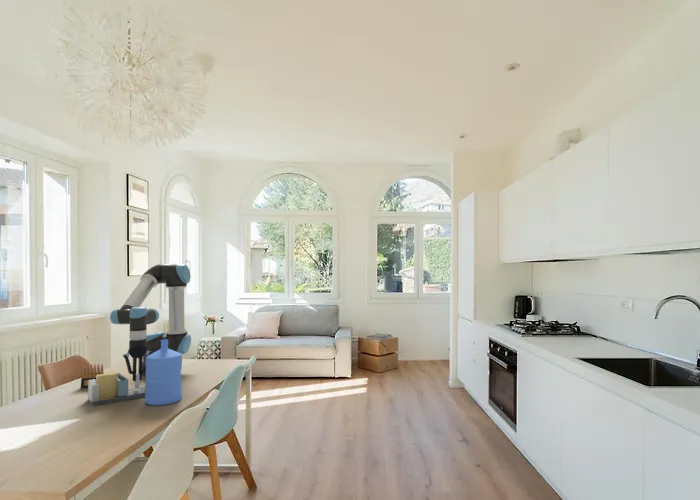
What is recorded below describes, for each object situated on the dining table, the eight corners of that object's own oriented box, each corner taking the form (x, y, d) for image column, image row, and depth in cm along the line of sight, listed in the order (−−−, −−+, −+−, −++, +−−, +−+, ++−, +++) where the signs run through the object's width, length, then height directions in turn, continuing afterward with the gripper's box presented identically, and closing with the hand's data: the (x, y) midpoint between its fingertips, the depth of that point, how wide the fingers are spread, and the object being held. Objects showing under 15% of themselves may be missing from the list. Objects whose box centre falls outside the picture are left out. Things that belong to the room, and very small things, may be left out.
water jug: (168, 407, 184) (169, 343, 185) (137, 405, 187) (138, 342, 189) (188, 396, 199) (189, 337, 201) (159, 394, 203) (160, 337, 204)
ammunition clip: (104, 386, 218) (104, 363, 219) (102, 387, 216) (103, 364, 217) (82, 387, 217) (82, 364, 217) (80, 388, 215) (81, 364, 215)
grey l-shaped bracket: (147, 389, 211) (148, 371, 212) (154, 395, 202) (154, 375, 202) (88, 400, 195) (88, 380, 195) (92, 406, 185) (92, 385, 186)
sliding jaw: (122, 389, 204) (123, 372, 204) (128, 394, 195) (128, 376, 195) (113, 390, 201) (113, 373, 202) (118, 396, 192) (118, 378, 193)
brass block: (115, 393, 198) (115, 372, 199) (116, 395, 195) (117, 373, 196) (95, 396, 193) (96, 374, 194) (97, 398, 190) (97, 376, 191)
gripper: (150, 336, 211) (149, 383, 210) (121, 339, 203) (120, 388, 202) (154, 338, 205) (153, 386, 204) (124, 341, 197) (123, 391, 196)
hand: (137, 387), depth 203 cm, fingers closed
